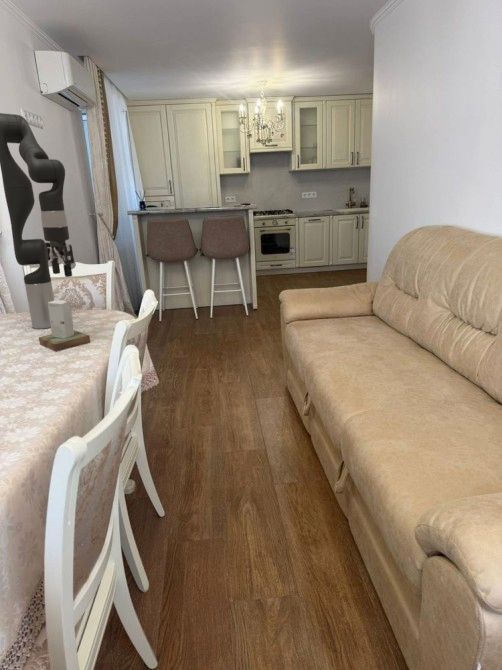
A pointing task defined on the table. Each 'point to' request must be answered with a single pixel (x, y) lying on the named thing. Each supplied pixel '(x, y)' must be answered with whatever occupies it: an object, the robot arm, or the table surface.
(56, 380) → the table surface
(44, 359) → the table surface
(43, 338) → the block
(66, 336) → the skincare box
